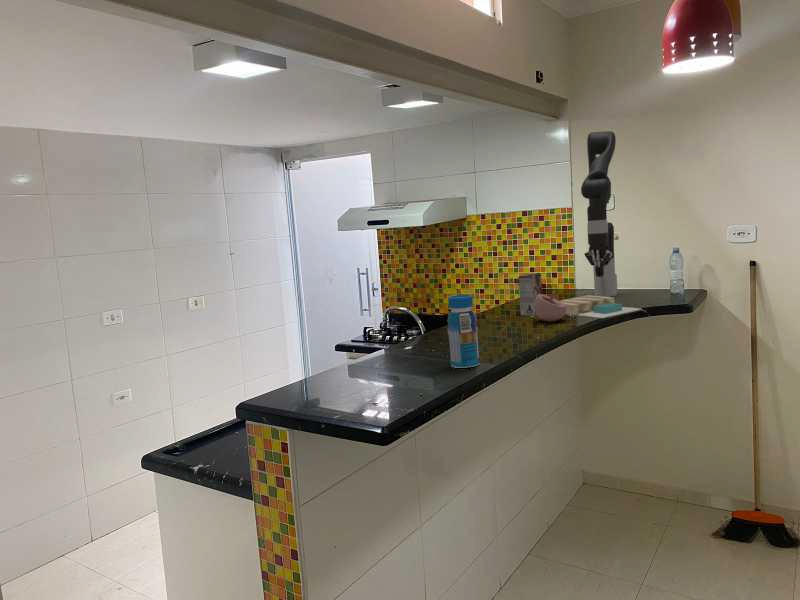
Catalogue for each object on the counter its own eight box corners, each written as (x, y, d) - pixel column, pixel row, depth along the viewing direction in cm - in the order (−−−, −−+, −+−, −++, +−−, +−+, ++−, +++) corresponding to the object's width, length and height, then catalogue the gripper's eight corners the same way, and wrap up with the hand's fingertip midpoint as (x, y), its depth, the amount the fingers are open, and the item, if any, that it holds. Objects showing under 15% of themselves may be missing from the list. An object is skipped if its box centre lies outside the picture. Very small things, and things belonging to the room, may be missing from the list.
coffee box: (528, 311, 255) (526, 273, 253) (543, 311, 251) (541, 273, 249) (520, 315, 247) (517, 276, 245) (535, 315, 244) (532, 275, 242)
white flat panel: (616, 307, 247) (616, 306, 247) (641, 309, 236) (641, 308, 236) (577, 315, 236) (577, 314, 236) (602, 318, 226) (602, 317, 226)
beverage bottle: (445, 369, 171) (439, 298, 169) (458, 361, 178) (453, 294, 176) (472, 370, 167) (467, 298, 164) (485, 363, 174) (480, 293, 172)
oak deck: (588, 304, 260) (587, 295, 259) (614, 307, 248) (614, 297, 247) (549, 312, 249) (549, 302, 248) (575, 315, 237) (575, 305, 236)
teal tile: (621, 304, 236) (622, 310, 237) (609, 302, 241) (609, 309, 242) (605, 307, 232) (606, 313, 232) (593, 306, 237) (593, 312, 237)
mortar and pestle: (566, 323, 221) (564, 292, 220) (532, 324, 225) (531, 294, 224) (568, 318, 233) (566, 288, 231) (536, 319, 237) (534, 289, 235)
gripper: (618, 230, 232) (620, 276, 234) (591, 231, 243) (593, 274, 246) (604, 232, 228) (606, 278, 230) (577, 233, 239) (580, 277, 242)
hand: (599, 276), depth 238 cm, fingers closed
